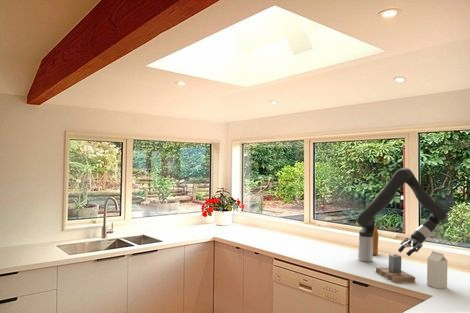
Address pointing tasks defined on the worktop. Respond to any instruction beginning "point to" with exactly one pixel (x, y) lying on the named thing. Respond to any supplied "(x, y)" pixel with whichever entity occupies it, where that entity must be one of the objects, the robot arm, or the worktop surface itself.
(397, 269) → the block
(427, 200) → the robot arm
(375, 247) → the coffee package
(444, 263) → the milk carton
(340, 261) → the worktop surface
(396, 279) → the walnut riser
